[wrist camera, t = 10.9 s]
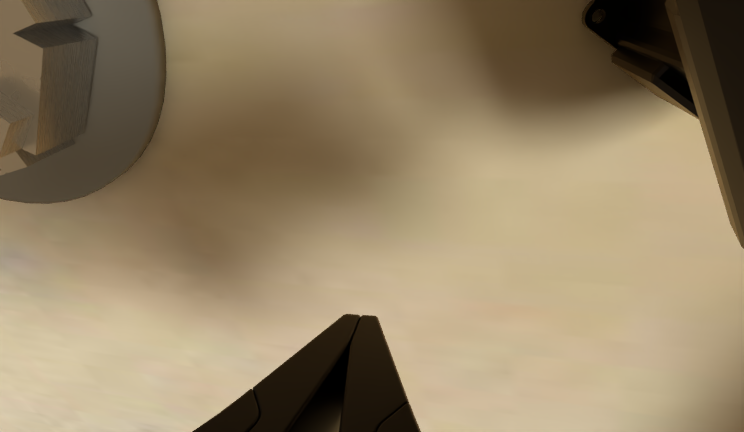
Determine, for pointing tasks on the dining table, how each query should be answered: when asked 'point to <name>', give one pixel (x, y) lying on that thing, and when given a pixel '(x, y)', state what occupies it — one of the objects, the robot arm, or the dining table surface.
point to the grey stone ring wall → (42, 79)
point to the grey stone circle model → (105, 106)
